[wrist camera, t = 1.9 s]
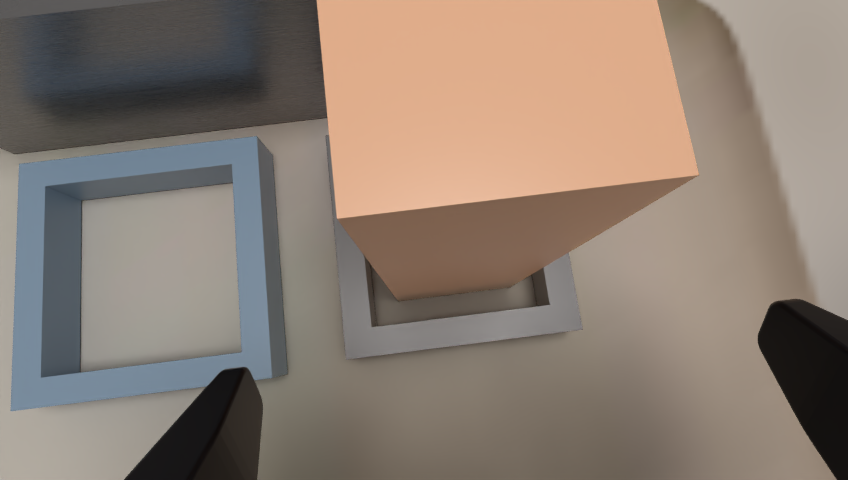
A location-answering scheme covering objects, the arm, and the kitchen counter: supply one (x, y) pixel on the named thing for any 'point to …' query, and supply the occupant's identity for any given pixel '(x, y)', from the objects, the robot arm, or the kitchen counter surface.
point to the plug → (495, 132)
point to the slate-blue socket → (61, 269)
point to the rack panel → (153, 69)
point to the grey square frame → (369, 340)
